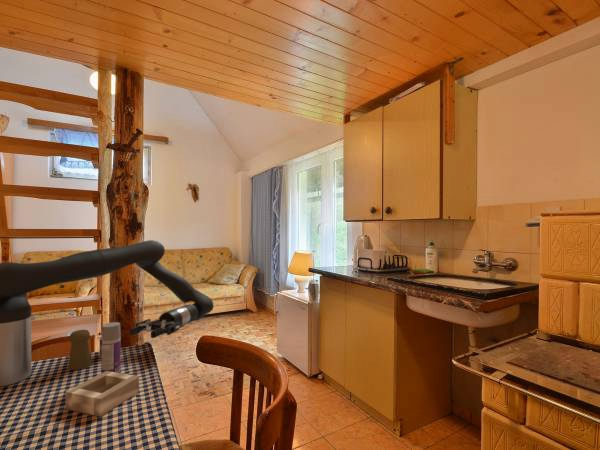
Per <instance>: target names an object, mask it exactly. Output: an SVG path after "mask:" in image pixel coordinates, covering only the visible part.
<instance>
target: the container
mask: <svg viewBox="0 0 600 450" xmlns="http://www.w3.org/2000/svg"><path fill="white" fill-rule="evenodd" d="M101 329H102V330H101V331H102V357H101V373H103V372H105V371H110V372H116V373H121V361H122V360H121V359H122V357H121V353H122V352H121V349H122V348H121V347H122V345H121V342H122V340H121V339H122V338H121V323H120V322H118V321H117V322H116V321H115V322H114V321H113V322H108V323H105V324H102V328H101Z"/></svg>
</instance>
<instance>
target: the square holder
mask: <svg viewBox="0 0 600 450" xmlns="http://www.w3.org/2000/svg"><path fill="white" fill-rule="evenodd" d="M139 389H140V376H138V375H132V374H127V373H121V372H120V373H116V372H110V371H105V372H103V373H102V372H101V373H99V374H97V375H95V376H93V377H92V378H89V379H88V380H85V381H84V382H81V383H80V384H78V385H76V386H74V387H71V388H70V389H67V390H66V391H65V392H64V393H65V398H64V399H65V400H64V401H65V402H64V403H65V404H64V405H65V409H66V410H70V411H76V412H80V413H83V414H86V415H92V416H96V417H102V416H105V414H107V413H109V412H110V411H112V410H113V409H115V408H117V407H118V406H119V405H121V404H122V403H124V402H125V401H127V400H129V399H130V398H131V397H133V396H135V395H136V394H137V393H138V394H139V392H140V391H139Z"/></svg>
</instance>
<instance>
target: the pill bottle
mask: <svg viewBox="0 0 600 450" xmlns="http://www.w3.org/2000/svg"><path fill="white" fill-rule="evenodd" d="M99 357H100V358H102V330H101V332H100V337H99Z"/></svg>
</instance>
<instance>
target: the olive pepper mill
mask: <svg viewBox="0 0 600 450" xmlns="http://www.w3.org/2000/svg"><path fill="white" fill-rule="evenodd" d="M90 336H91V335H90V331H89V330H87V329H78V330H75V331H72V332H71V333H70V334H69V338H68V339H69V342H70V343H71V345H70V351H69V358H68V363H67V371H70V370H75V371H80V369H81V370H84V369H86V367H87V368H88V366H89V367H90V366H91V365H92V359H91V354H90V346H89V340H90ZM83 368H84V369H83Z"/></svg>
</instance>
